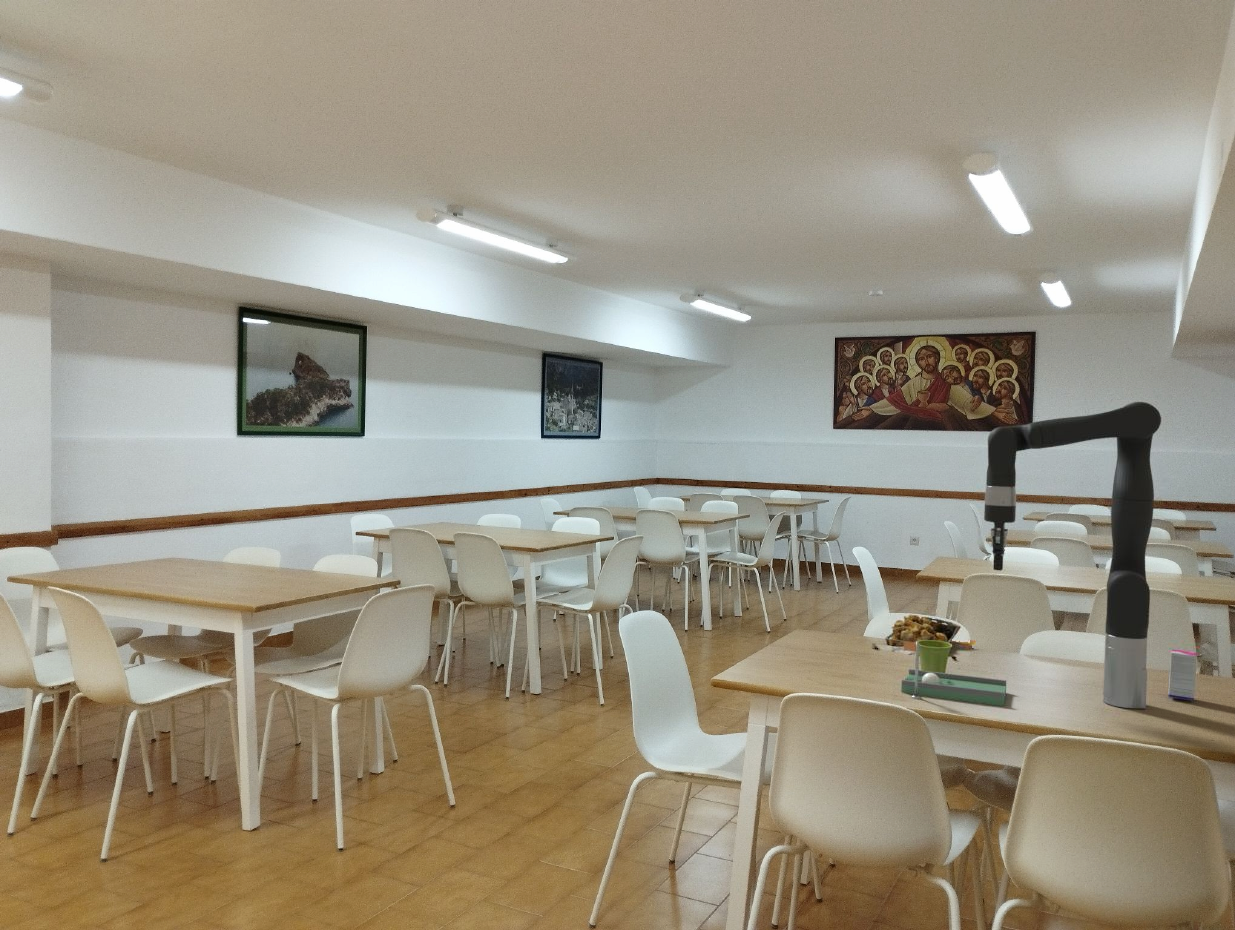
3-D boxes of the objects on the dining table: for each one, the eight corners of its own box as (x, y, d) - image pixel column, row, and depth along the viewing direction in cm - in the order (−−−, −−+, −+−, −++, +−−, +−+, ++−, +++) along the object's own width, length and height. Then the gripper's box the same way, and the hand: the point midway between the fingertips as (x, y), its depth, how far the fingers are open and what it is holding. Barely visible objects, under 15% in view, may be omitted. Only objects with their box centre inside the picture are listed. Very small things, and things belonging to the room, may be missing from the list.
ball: (925, 688, 245) (942, 686, 243) (923, 692, 241) (940, 690, 239) (921, 672, 245) (938, 670, 243) (919, 675, 241) (936, 673, 239)
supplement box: (1195, 700, 238) (1196, 655, 237) (1167, 697, 241) (1169, 652, 240) (1195, 695, 242) (1196, 651, 242) (1168, 692, 246) (1170, 648, 245)
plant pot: (953, 680, 253) (954, 648, 253) (917, 677, 255) (918, 646, 255) (948, 672, 262) (949, 641, 262) (913, 669, 264) (914, 639, 264)
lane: (1006, 692, 241) (1006, 680, 241) (1003, 706, 228) (1003, 693, 228) (908, 680, 251) (909, 668, 251) (901, 693, 238) (901, 680, 238)
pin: (921, 697, 234) (923, 642, 234) (920, 700, 232) (922, 643, 232) (903, 695, 236) (905, 640, 236) (901, 697, 234) (903, 641, 234)
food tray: (897, 633, 319) (898, 602, 319) (976, 643, 307) (977, 610, 306) (869, 652, 289) (870, 617, 289) (956, 663, 276) (957, 627, 276)
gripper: (1014, 505, 237) (1012, 574, 237) (1016, 503, 249) (1014, 568, 249) (983, 504, 240) (980, 571, 240) (986, 501, 252) (984, 566, 252)
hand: (998, 569), depth 245 cm, fingers closed
